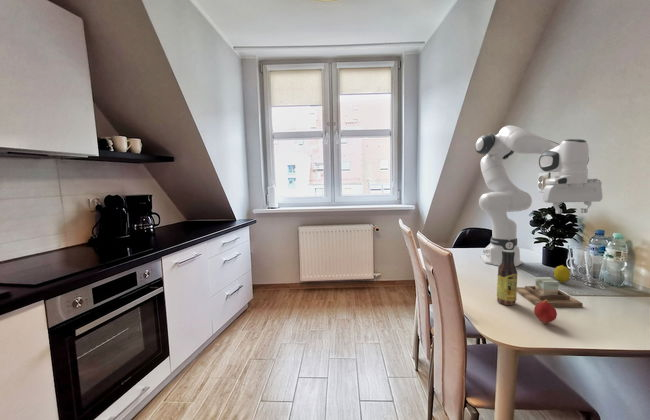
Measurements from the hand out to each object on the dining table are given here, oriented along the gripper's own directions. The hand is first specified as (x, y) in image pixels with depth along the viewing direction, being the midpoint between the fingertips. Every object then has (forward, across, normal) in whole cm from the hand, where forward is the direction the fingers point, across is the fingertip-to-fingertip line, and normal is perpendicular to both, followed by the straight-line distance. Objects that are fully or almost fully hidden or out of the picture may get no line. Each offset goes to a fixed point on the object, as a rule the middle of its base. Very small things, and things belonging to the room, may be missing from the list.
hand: (571, 213), depth 118 cm
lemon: (+31, 0, -4) cm, 32 cm away
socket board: (+31, +16, +13) cm, 37 cm away
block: (+30, +16, +13) cm, 36 cm away
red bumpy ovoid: (+31, +28, +33) cm, 53 cm away
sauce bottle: (+31, +32, +17) cm, 48 cm away
